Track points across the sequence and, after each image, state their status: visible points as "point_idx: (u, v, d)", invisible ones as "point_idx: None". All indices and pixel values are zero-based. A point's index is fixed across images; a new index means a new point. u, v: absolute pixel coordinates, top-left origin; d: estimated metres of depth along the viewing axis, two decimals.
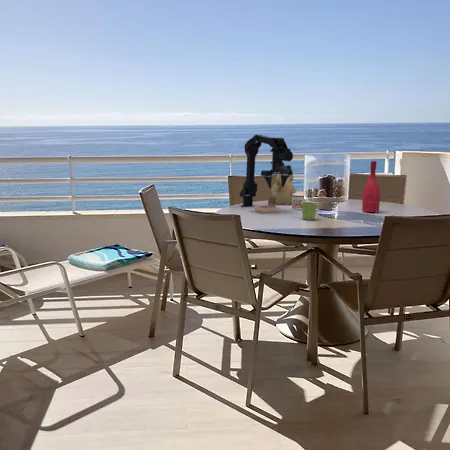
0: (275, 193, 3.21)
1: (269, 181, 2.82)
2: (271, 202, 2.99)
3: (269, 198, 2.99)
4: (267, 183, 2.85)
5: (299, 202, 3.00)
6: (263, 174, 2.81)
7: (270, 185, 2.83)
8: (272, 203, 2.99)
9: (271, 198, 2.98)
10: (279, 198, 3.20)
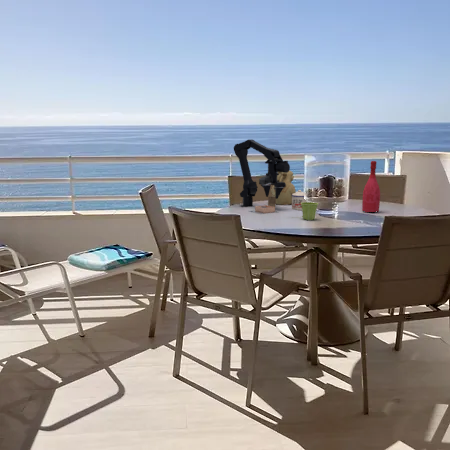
0: None
1: (264, 190, 3.03)
2: (271, 202, 2.99)
3: (269, 198, 2.99)
4: None
5: (299, 202, 3.00)
6: None
7: None
8: (272, 203, 2.99)
9: (271, 198, 2.98)
10: (279, 198, 3.20)
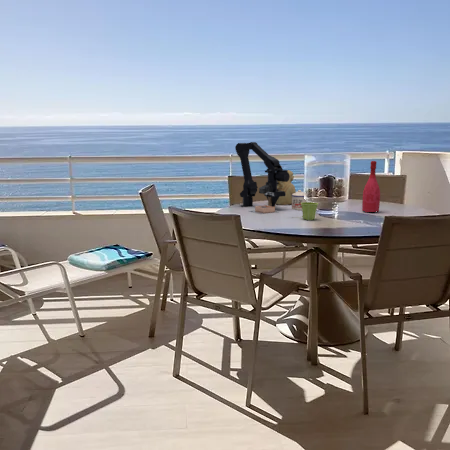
0: None
1: None
2: (271, 202, 2.99)
3: (269, 198, 2.99)
4: None
5: (299, 202, 3.00)
6: None
7: None
8: None
9: (271, 198, 2.98)
10: (279, 198, 3.20)
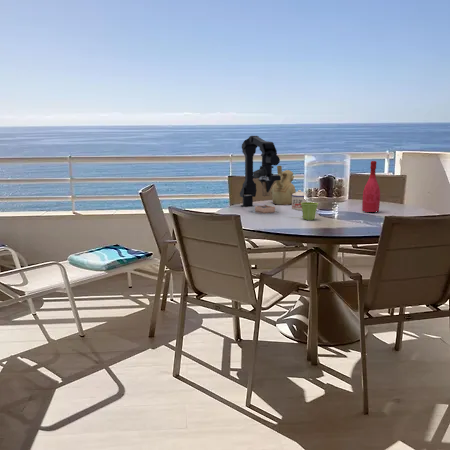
0: (275, 193, 3.21)
1: (262, 184, 2.88)
2: (265, 187, 2.85)
3: (263, 183, 2.85)
4: None
5: (299, 202, 3.00)
6: None
7: None
8: None
9: (265, 183, 2.85)
10: (279, 198, 3.20)
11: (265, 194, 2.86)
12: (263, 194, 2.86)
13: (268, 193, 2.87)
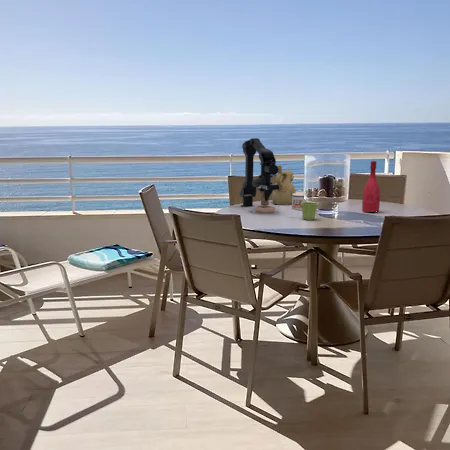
0: (275, 193, 3.21)
1: None
2: (264, 197, 2.85)
3: (262, 192, 2.85)
4: None
5: (299, 202, 3.00)
6: None
7: None
8: None
9: (264, 192, 2.85)
10: (279, 198, 3.20)
11: (264, 203, 2.86)
12: (262, 203, 2.86)
13: (267, 202, 2.87)
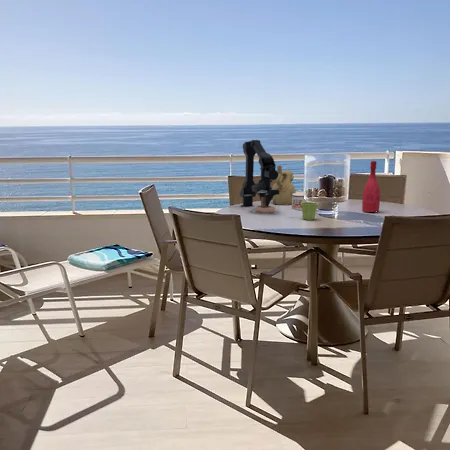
0: None
1: (260, 197, 2.89)
2: (264, 202, 2.86)
3: (262, 198, 2.86)
4: None
5: (299, 202, 3.00)
6: None
7: None
8: (265, 203, 2.86)
9: (264, 198, 2.85)
10: (279, 198, 3.20)
11: None
12: None
13: None
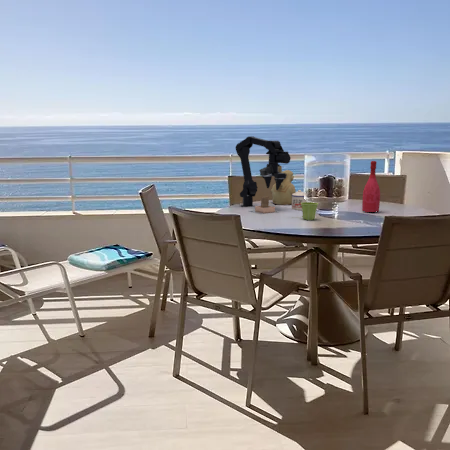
0: (275, 193, 3.21)
1: (265, 181, 3.01)
2: (264, 202, 2.86)
3: (262, 198, 2.86)
4: None
5: (299, 202, 3.00)
6: None
7: (266, 185, 3.00)
8: (265, 203, 2.86)
9: (264, 198, 2.85)
10: (279, 198, 3.20)
11: None
12: None
13: None
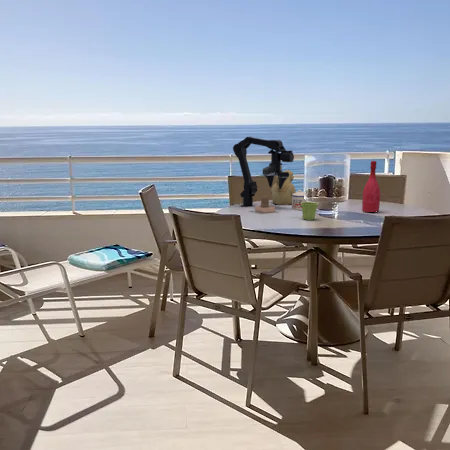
0: (275, 193, 3.21)
1: None
2: (264, 202, 2.86)
3: (262, 198, 2.86)
4: None
5: (299, 202, 3.00)
6: None
7: (269, 184, 3.04)
8: (265, 203, 2.86)
9: (264, 198, 2.85)
10: (279, 198, 3.20)
11: None
12: None
13: None
